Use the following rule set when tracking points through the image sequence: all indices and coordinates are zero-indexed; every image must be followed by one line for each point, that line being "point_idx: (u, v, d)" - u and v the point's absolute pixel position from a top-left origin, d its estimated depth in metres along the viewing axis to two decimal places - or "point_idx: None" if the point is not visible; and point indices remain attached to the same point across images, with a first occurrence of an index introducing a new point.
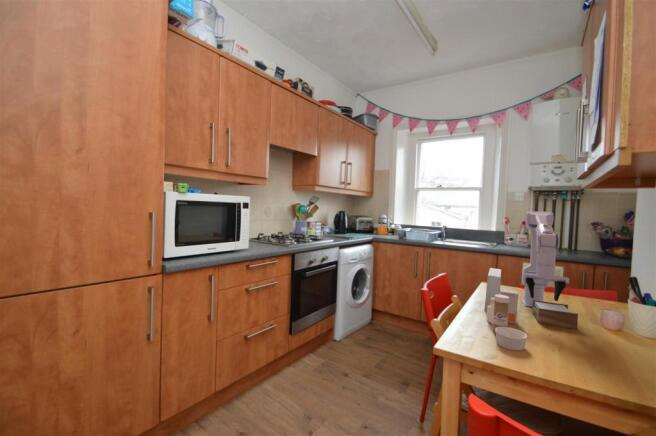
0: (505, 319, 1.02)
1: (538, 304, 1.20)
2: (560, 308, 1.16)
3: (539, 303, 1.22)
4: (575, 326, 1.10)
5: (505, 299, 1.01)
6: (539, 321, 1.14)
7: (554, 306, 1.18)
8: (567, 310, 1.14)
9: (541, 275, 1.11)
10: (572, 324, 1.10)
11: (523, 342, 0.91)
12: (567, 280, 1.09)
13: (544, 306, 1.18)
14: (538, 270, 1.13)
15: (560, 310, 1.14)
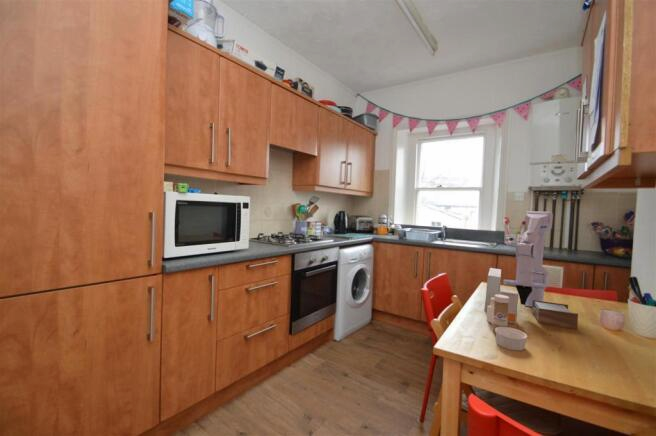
0: (505, 319, 1.02)
1: (538, 304, 1.20)
2: (560, 308, 1.16)
3: (539, 303, 1.22)
4: (575, 326, 1.10)
5: (505, 299, 1.01)
6: (539, 321, 1.14)
7: (554, 306, 1.18)
8: (567, 310, 1.14)
9: (520, 282, 1.20)
10: (572, 324, 1.10)
11: (523, 342, 0.91)
12: (544, 287, 1.18)
13: (544, 306, 1.18)
14: (517, 277, 1.21)
15: (560, 310, 1.14)
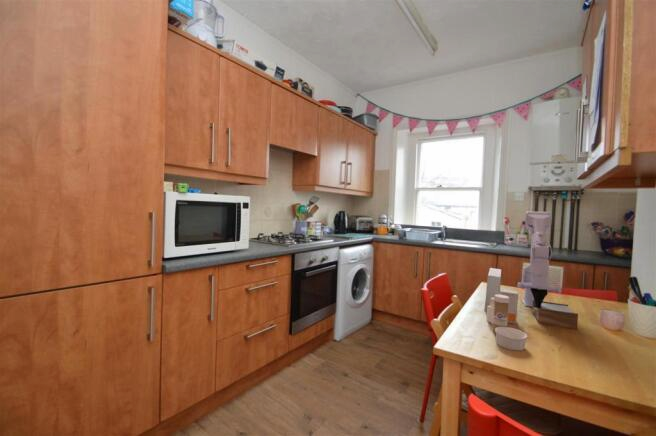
0: (505, 319, 1.02)
1: (541, 304, 1.20)
2: (563, 308, 1.16)
3: (542, 303, 1.21)
4: (575, 326, 1.10)
5: (505, 299, 1.01)
6: (539, 321, 1.14)
7: (557, 306, 1.18)
8: (570, 310, 1.13)
9: (535, 285, 1.18)
10: (572, 324, 1.10)
11: (523, 342, 0.91)
12: (560, 290, 1.15)
13: (547, 306, 1.17)
14: (532, 280, 1.19)
15: (563, 310, 1.13)
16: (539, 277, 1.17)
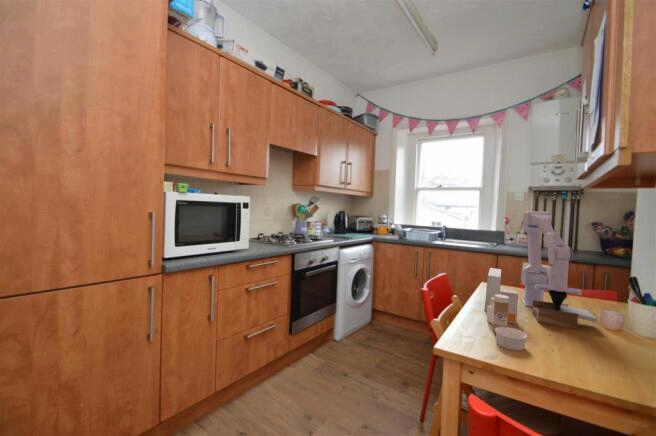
0: (505, 319, 1.02)
1: None
2: (584, 312, 1.13)
3: (561, 305, 1.18)
4: (575, 326, 1.10)
5: (505, 299, 1.01)
6: (539, 321, 1.14)
7: (577, 310, 1.15)
8: (591, 315, 1.11)
9: (554, 287, 1.15)
10: (572, 324, 1.10)
11: (523, 342, 0.91)
12: (579, 292, 1.13)
13: (567, 309, 1.15)
14: (551, 282, 1.16)
15: (584, 314, 1.10)
16: (558, 279, 1.14)
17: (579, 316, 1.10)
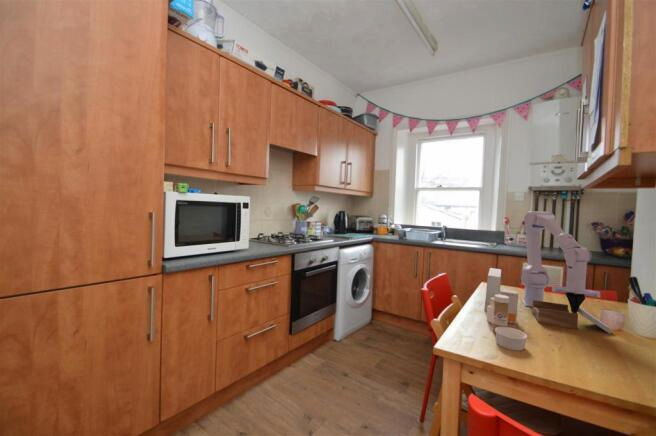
0: (505, 319, 1.02)
1: (580, 308, 1.15)
2: (600, 321, 1.11)
3: (580, 308, 1.16)
4: (575, 326, 1.10)
5: (505, 299, 1.01)
6: (539, 321, 1.14)
7: (594, 317, 1.13)
8: (607, 326, 1.09)
9: (572, 289, 1.13)
10: (572, 324, 1.10)
11: (523, 342, 0.91)
12: (598, 294, 1.10)
13: (586, 312, 1.12)
14: (568, 284, 1.14)
15: (602, 323, 1.08)
16: (576, 281, 1.12)
17: (597, 322, 1.08)
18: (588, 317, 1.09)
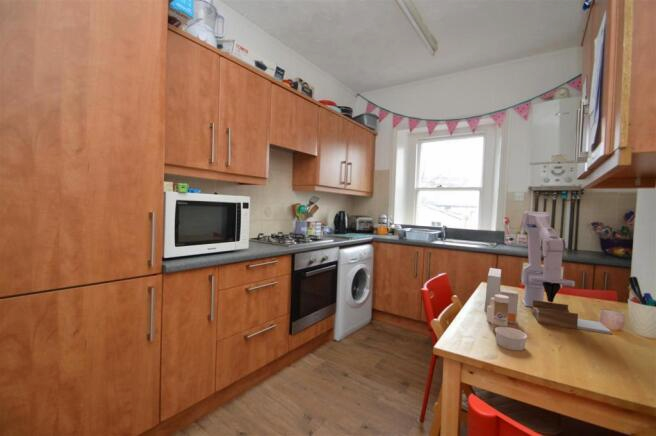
0: (505, 319, 1.02)
1: None
2: (597, 325, 1.11)
3: None
4: (575, 326, 1.10)
5: (505, 299, 1.01)
6: (539, 321, 1.14)
7: (590, 323, 1.14)
8: (605, 328, 1.09)
9: (548, 278, 1.16)
10: (572, 324, 1.10)
11: (523, 342, 0.91)
12: (573, 283, 1.14)
13: (580, 323, 1.13)
14: (545, 273, 1.17)
15: (598, 328, 1.09)
16: (552, 271, 1.15)
17: (593, 330, 1.08)
18: (583, 329, 1.09)
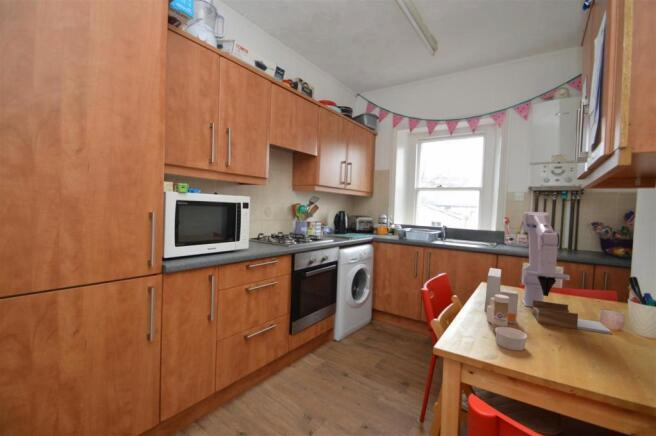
0: (505, 319, 1.02)
1: None
2: (597, 325, 1.11)
3: None
4: (575, 326, 1.10)
5: (505, 299, 1.01)
6: (539, 321, 1.14)
7: (590, 323, 1.14)
8: (605, 328, 1.09)
9: (543, 272, 1.16)
10: (572, 324, 1.10)
11: (523, 342, 0.91)
12: (568, 277, 1.14)
13: (580, 323, 1.13)
14: (540, 268, 1.18)
15: (598, 328, 1.09)
16: (547, 265, 1.15)
17: (593, 330, 1.08)
18: (583, 329, 1.09)
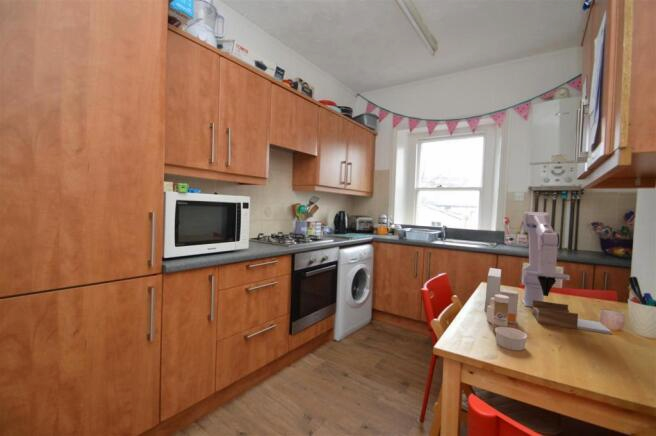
0: (505, 319, 1.02)
1: None
2: (597, 325, 1.11)
3: None
4: (575, 326, 1.10)
5: (505, 299, 1.01)
6: (539, 321, 1.14)
7: (590, 323, 1.14)
8: (605, 328, 1.09)
9: (543, 272, 1.16)
10: (572, 324, 1.10)
11: (523, 342, 0.91)
12: (568, 277, 1.14)
13: (580, 323, 1.13)
14: (540, 268, 1.18)
15: (598, 328, 1.09)
16: (547, 265, 1.15)
17: (593, 330, 1.08)
18: (583, 329, 1.09)
